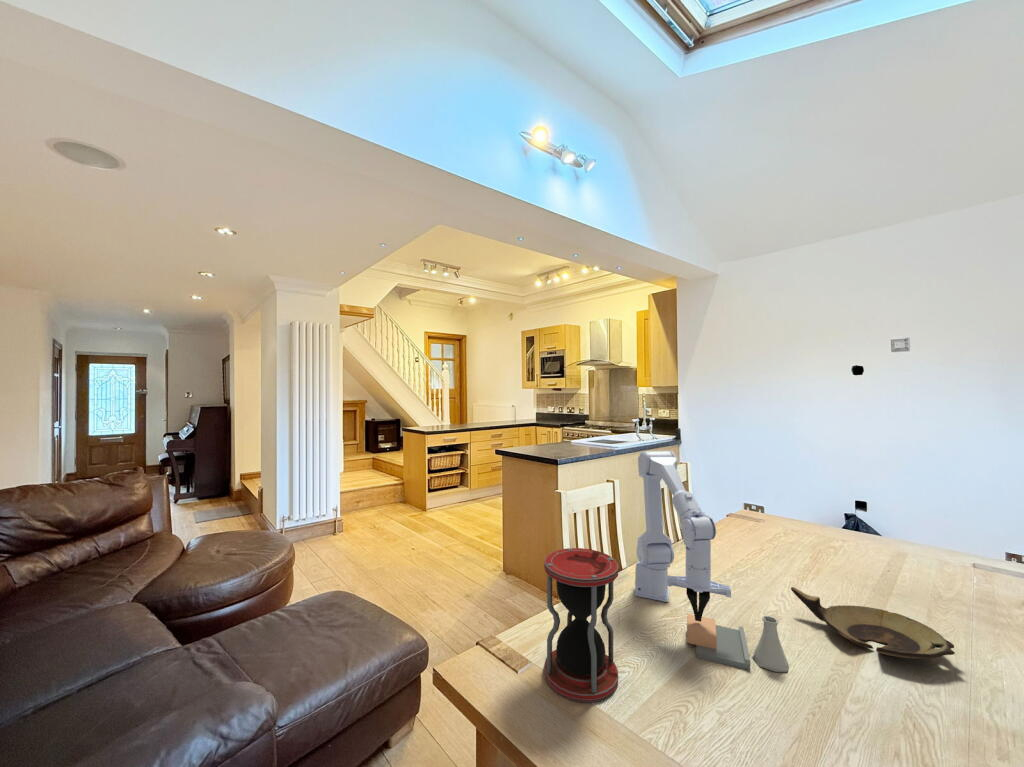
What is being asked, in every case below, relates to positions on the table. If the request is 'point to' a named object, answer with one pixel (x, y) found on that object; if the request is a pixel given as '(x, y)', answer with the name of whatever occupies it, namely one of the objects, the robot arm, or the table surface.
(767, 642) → the flask
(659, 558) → the robot arm
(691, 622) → the slab
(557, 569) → the hourglass
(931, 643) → the oil lamp
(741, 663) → the grey tray
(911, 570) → the table surface
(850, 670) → the table surface
